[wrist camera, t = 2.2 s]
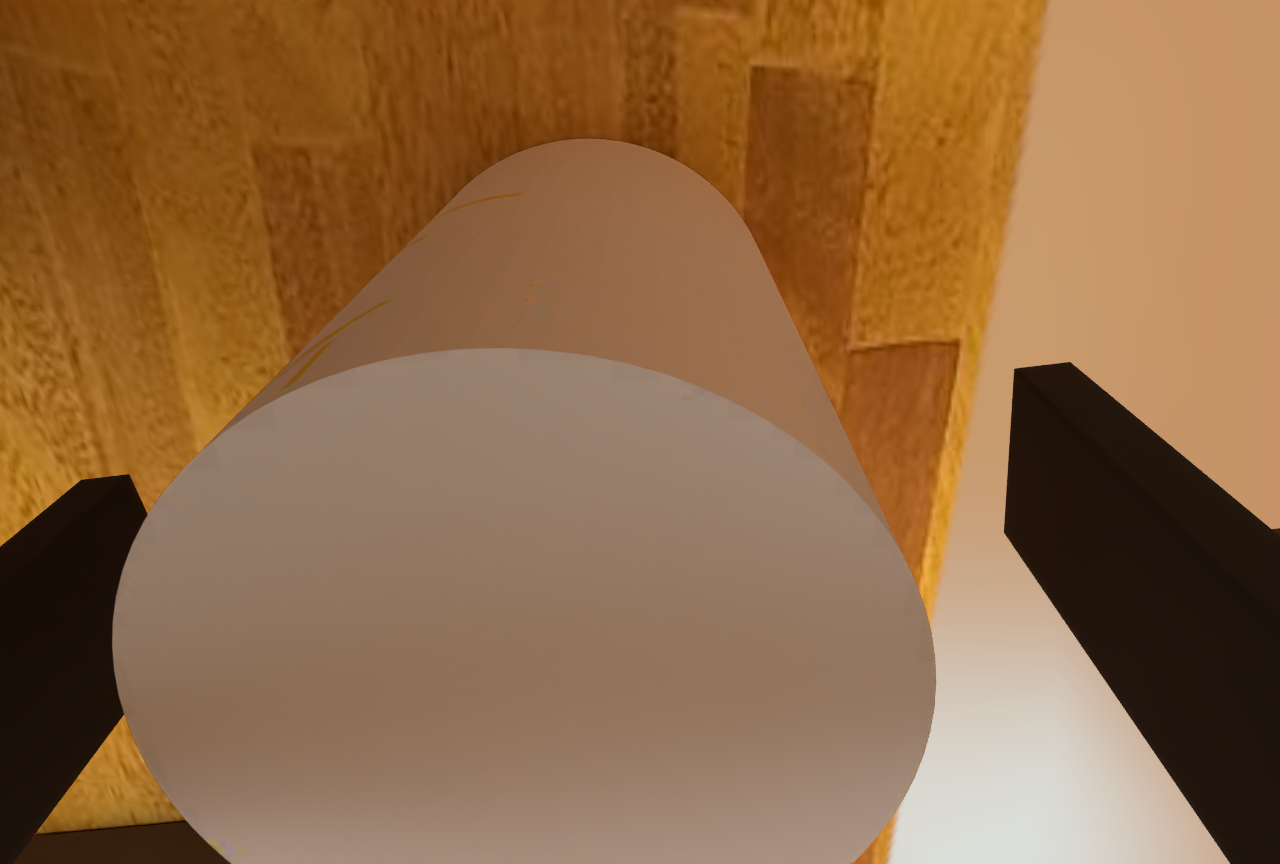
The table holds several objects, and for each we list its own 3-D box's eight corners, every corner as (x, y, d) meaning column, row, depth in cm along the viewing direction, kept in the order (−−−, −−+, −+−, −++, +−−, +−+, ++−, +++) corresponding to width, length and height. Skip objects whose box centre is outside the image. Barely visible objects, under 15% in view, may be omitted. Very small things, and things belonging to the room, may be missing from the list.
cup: (440, 92, 17) (100, 236, 6) (823, 194, 18) (1087, 473, 7) (392, 440, 21) (120, 909, 10) (713, 511, 22) (782, 1014, 11)
